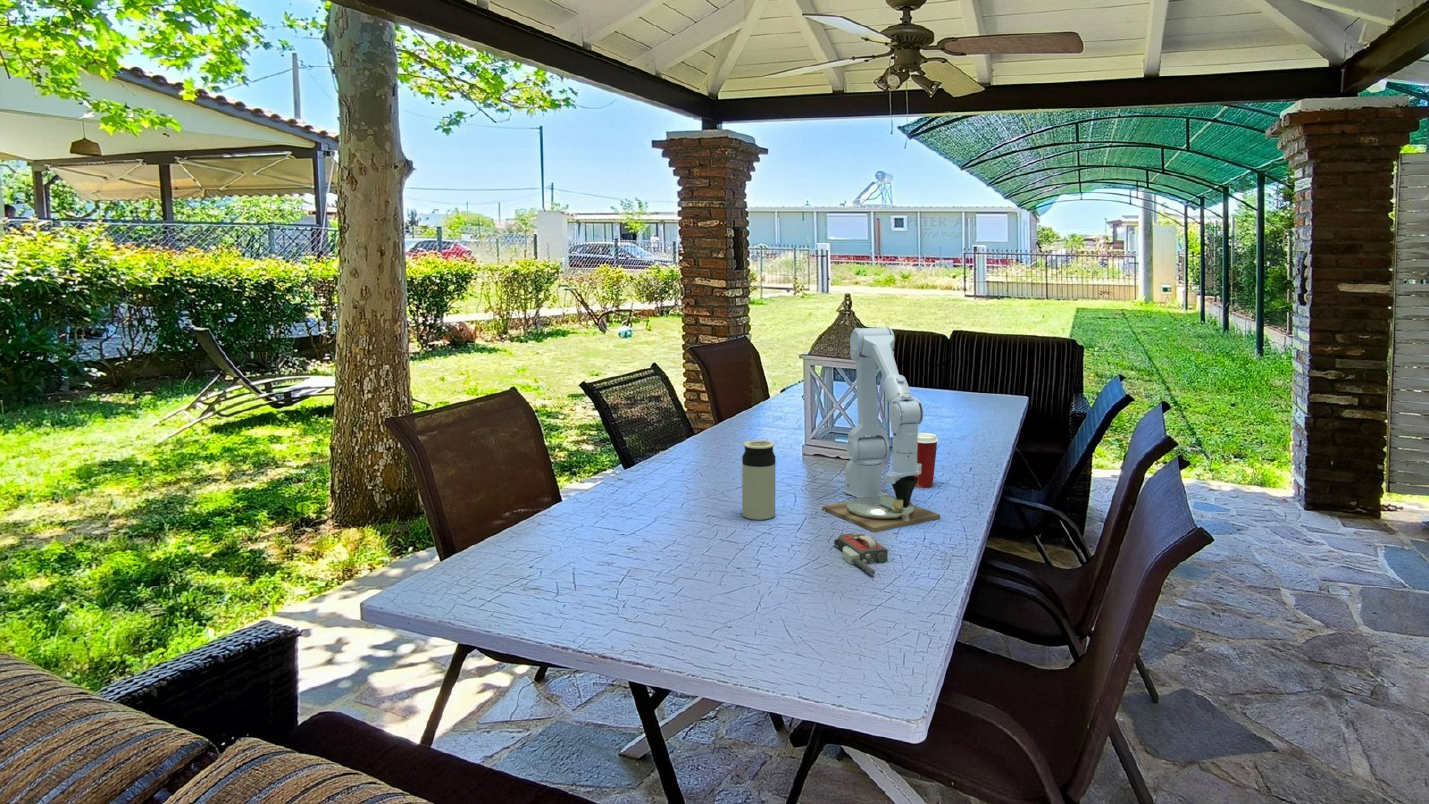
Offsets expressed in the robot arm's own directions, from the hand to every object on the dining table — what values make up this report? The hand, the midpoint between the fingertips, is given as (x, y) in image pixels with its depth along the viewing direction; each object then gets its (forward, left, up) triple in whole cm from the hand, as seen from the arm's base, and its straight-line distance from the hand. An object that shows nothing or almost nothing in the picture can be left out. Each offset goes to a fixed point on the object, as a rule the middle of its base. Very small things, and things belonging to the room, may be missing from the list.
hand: (903, 506), depth 207 cm
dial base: (-5, -2, -3) cm, 7 cm away
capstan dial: (-5, -2, -2) cm, 6 cm away
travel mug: (-19, -28, -3) cm, 35 cm away
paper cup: (-21, +25, -3) cm, 32 cm away
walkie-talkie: (+17, -25, -4) cm, 31 cm away
